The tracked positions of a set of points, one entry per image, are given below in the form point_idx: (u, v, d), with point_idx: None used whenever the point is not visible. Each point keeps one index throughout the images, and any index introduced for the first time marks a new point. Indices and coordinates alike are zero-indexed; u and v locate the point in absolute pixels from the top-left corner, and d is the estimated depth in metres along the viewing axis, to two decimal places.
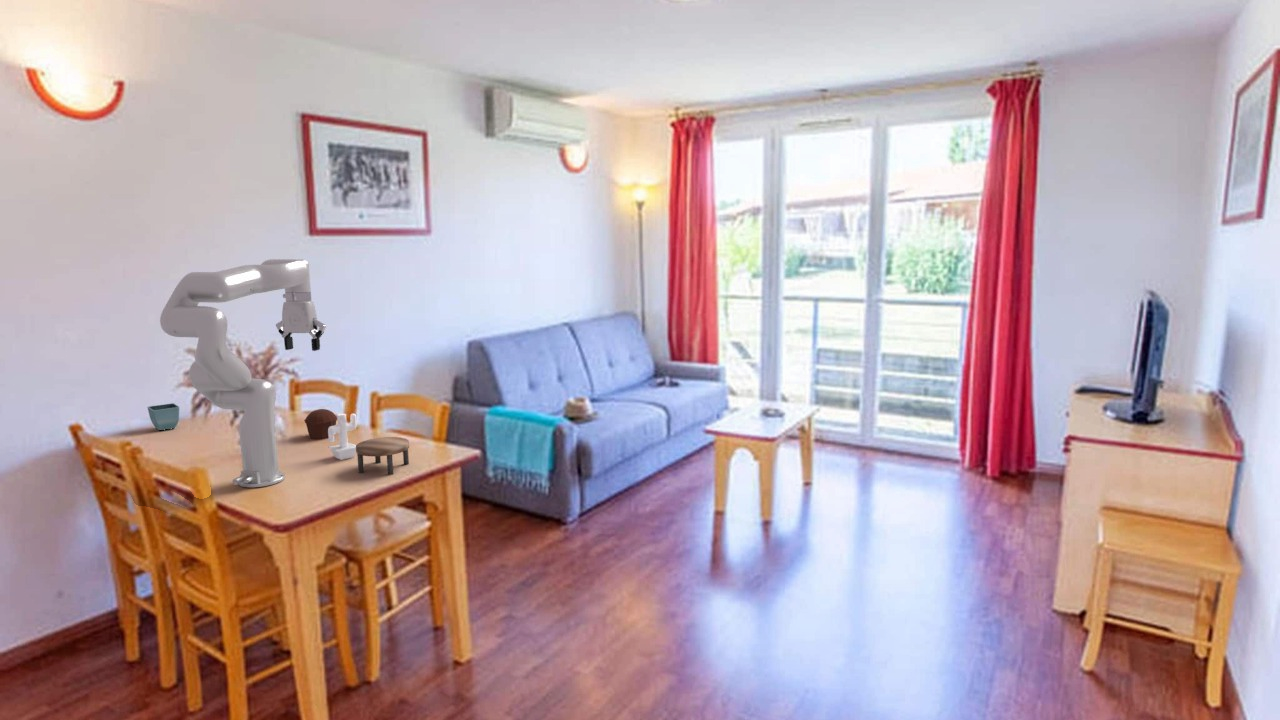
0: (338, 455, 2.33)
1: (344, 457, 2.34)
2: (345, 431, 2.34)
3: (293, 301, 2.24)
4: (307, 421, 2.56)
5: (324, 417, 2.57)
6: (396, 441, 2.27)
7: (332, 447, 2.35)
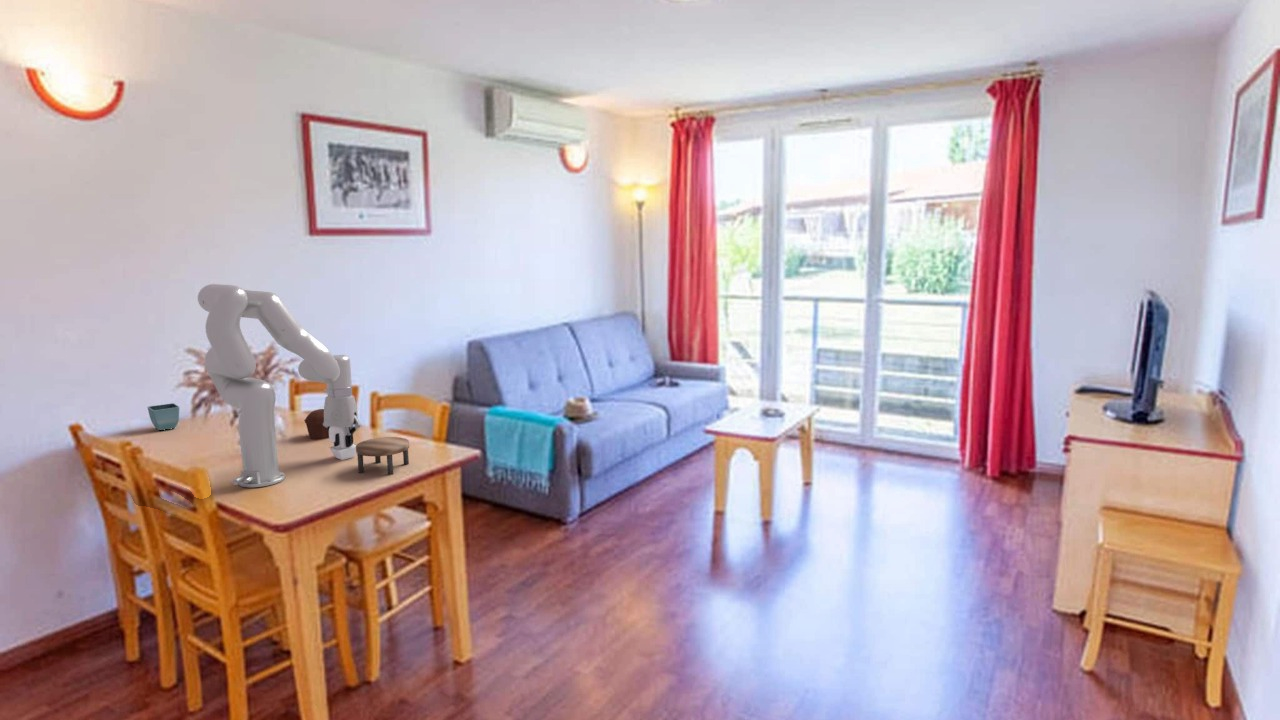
0: (339, 455, 2.33)
1: (345, 457, 2.34)
2: None
3: (335, 397, 2.29)
4: (307, 421, 2.56)
5: None
6: (396, 441, 2.27)
7: (332, 447, 2.35)
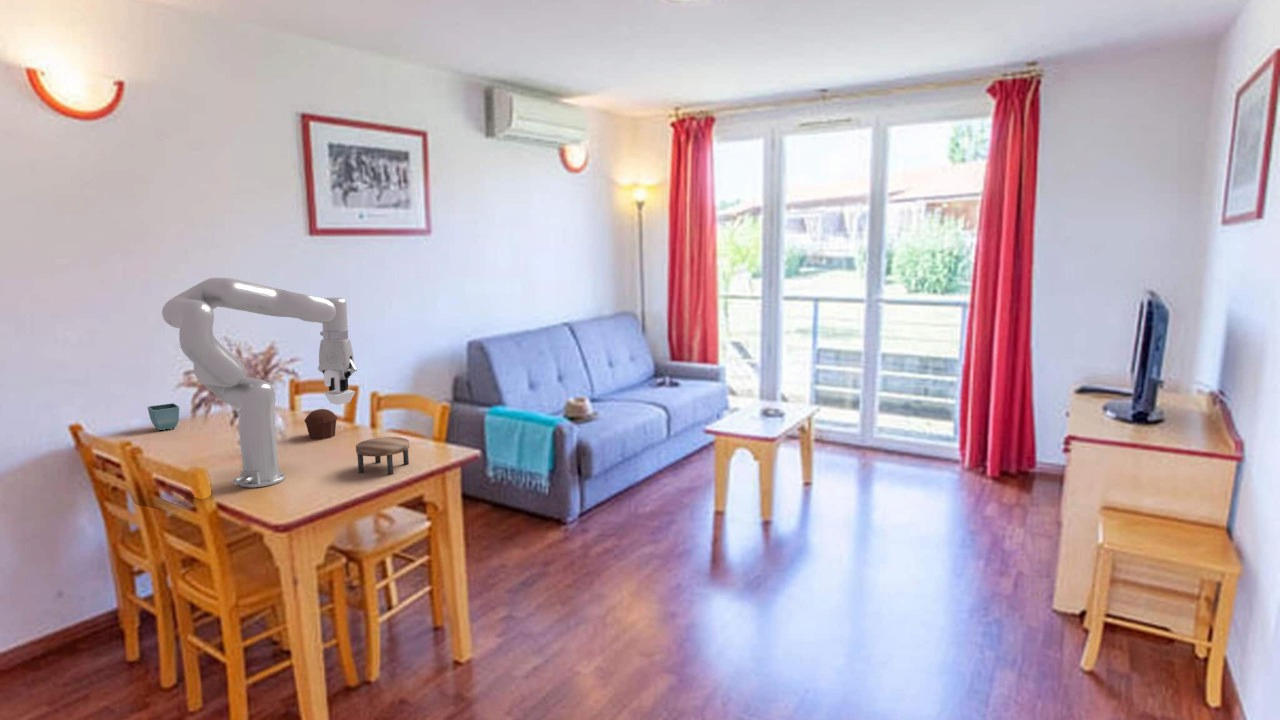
0: (335, 400, 2.29)
1: (341, 402, 2.30)
2: None
3: (331, 339, 2.26)
4: (307, 421, 2.56)
5: (324, 417, 2.57)
6: (396, 441, 2.27)
7: (327, 392, 2.31)
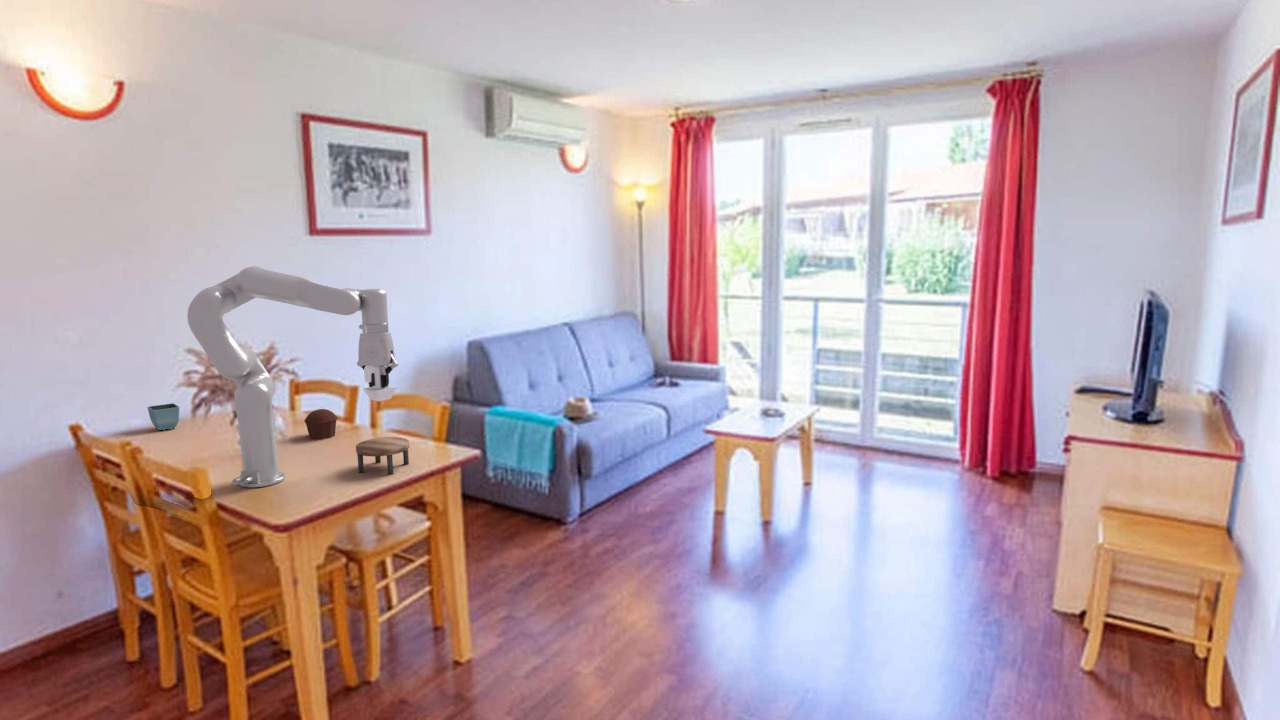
0: (376, 396, 2.18)
1: (382, 398, 2.19)
2: None
3: (371, 333, 2.14)
4: (307, 421, 2.56)
5: (324, 417, 2.57)
6: (396, 441, 2.27)
7: (367, 388, 2.20)
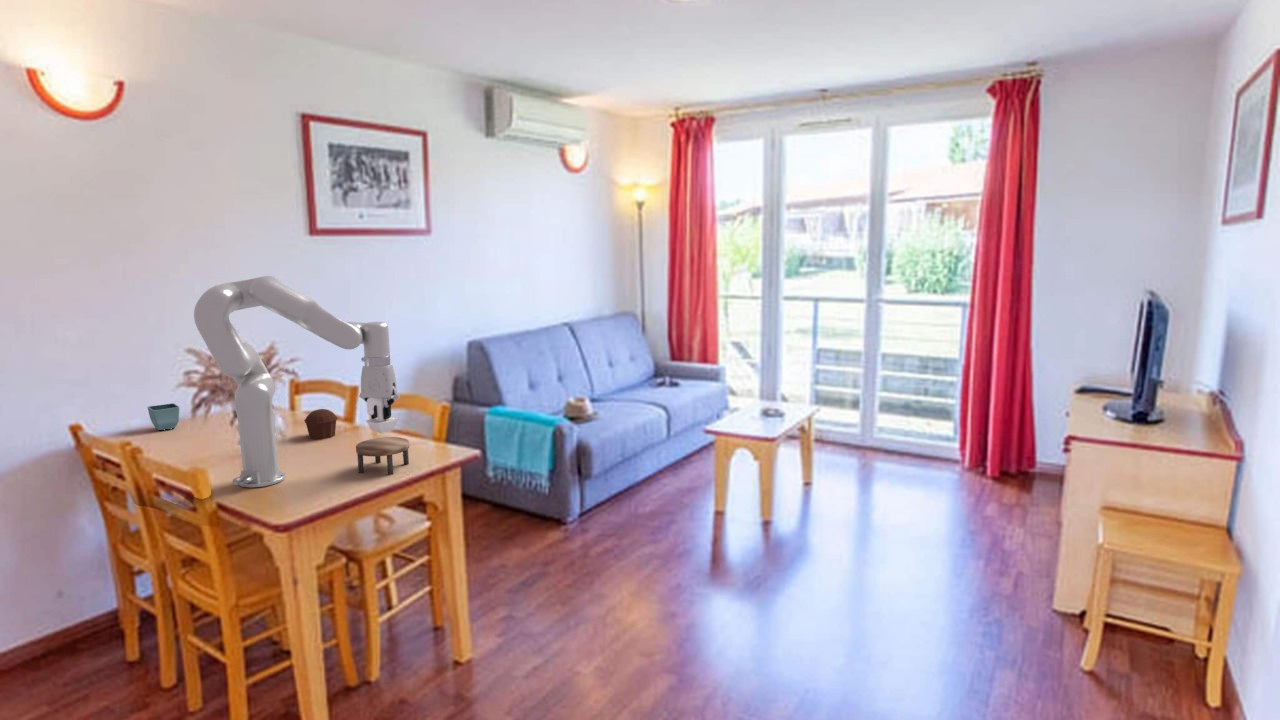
0: (378, 428, 2.20)
1: (384, 430, 2.21)
2: None
3: (373, 366, 2.16)
4: (307, 421, 2.56)
5: (324, 417, 2.57)
6: (396, 441, 2.27)
7: (370, 420, 2.22)
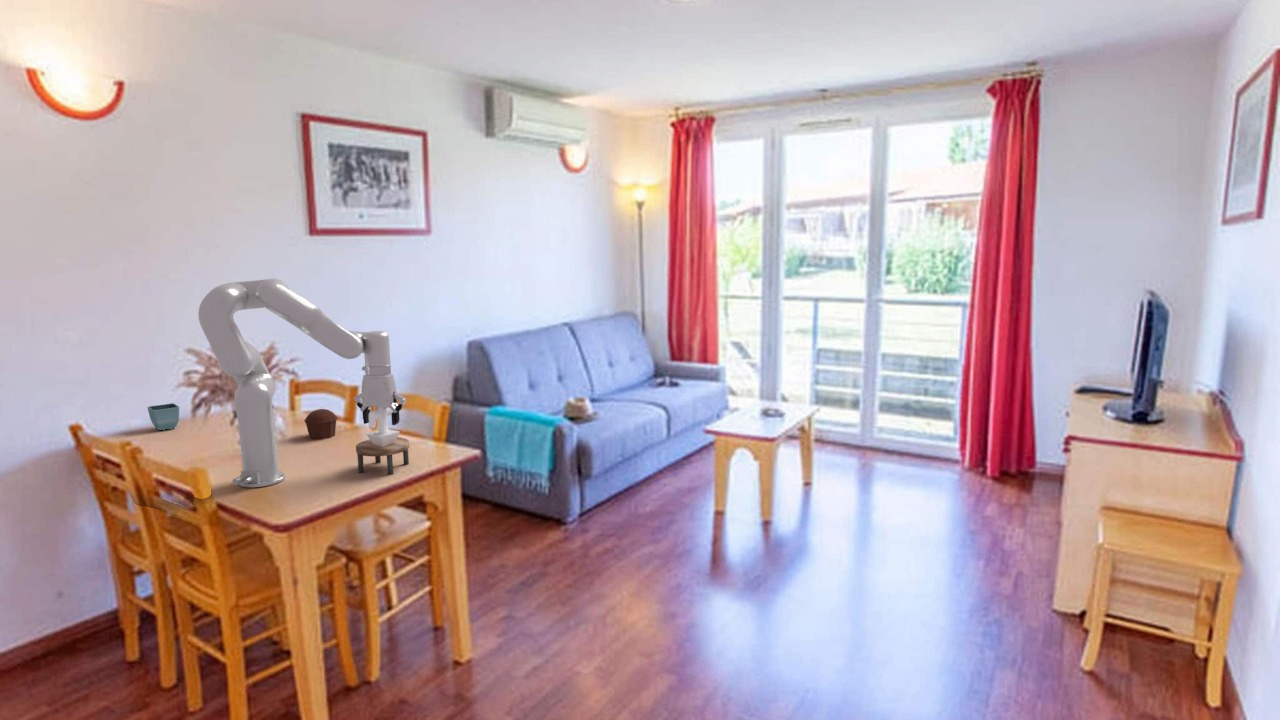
0: (380, 441, 2.21)
1: (386, 443, 2.22)
2: (385, 416, 2.22)
3: (374, 375, 2.17)
4: (307, 421, 2.56)
5: (324, 417, 2.57)
6: (396, 441, 2.27)
7: (371, 434, 2.22)
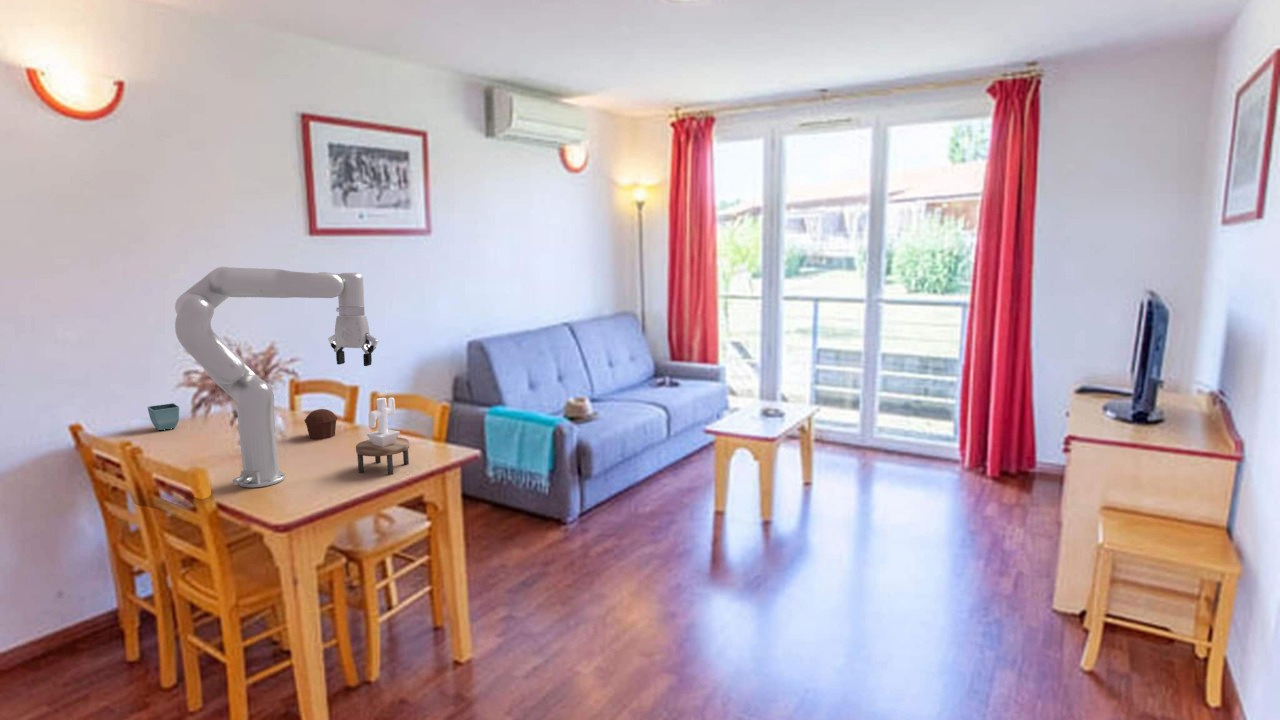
0: (380, 441, 2.21)
1: (386, 443, 2.22)
2: (385, 416, 2.22)
3: (346, 315, 2.20)
4: (307, 421, 2.56)
5: (324, 417, 2.57)
6: (396, 441, 2.27)
7: (371, 434, 2.22)
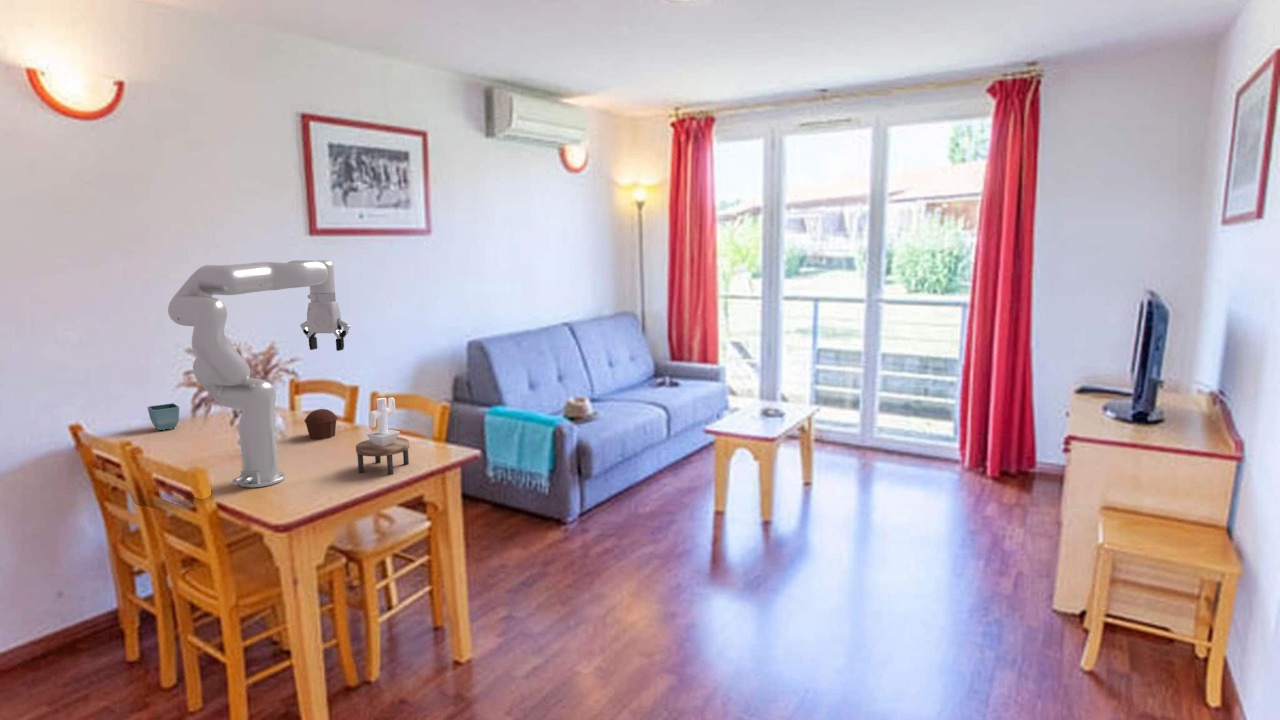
0: (380, 441, 2.21)
1: (386, 443, 2.22)
2: (385, 416, 2.22)
3: (318, 302, 2.27)
4: (307, 421, 2.56)
5: (324, 417, 2.57)
6: (396, 441, 2.27)
7: (371, 434, 2.22)
